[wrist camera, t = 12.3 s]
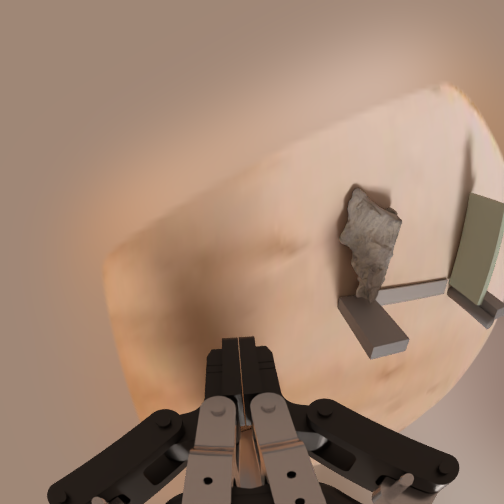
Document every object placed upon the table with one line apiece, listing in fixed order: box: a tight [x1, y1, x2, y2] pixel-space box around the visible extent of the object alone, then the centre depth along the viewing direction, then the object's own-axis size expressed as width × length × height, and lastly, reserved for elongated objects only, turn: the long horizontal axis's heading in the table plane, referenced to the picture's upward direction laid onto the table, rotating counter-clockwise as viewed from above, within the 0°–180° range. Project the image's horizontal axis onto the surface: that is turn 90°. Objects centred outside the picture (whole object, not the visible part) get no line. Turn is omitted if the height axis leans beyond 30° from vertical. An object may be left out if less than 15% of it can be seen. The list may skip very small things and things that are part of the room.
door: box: [449, 192, 504, 305], centre depth 28 cm, size 2×14×7 cm, turn 177°
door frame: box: [338, 279, 504, 359], centre depth 29 cm, size 3×24×10 cm, turn 92°
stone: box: [339, 188, 402, 304], centre depth 29 cm, size 6×12×4 cm, turn 170°
